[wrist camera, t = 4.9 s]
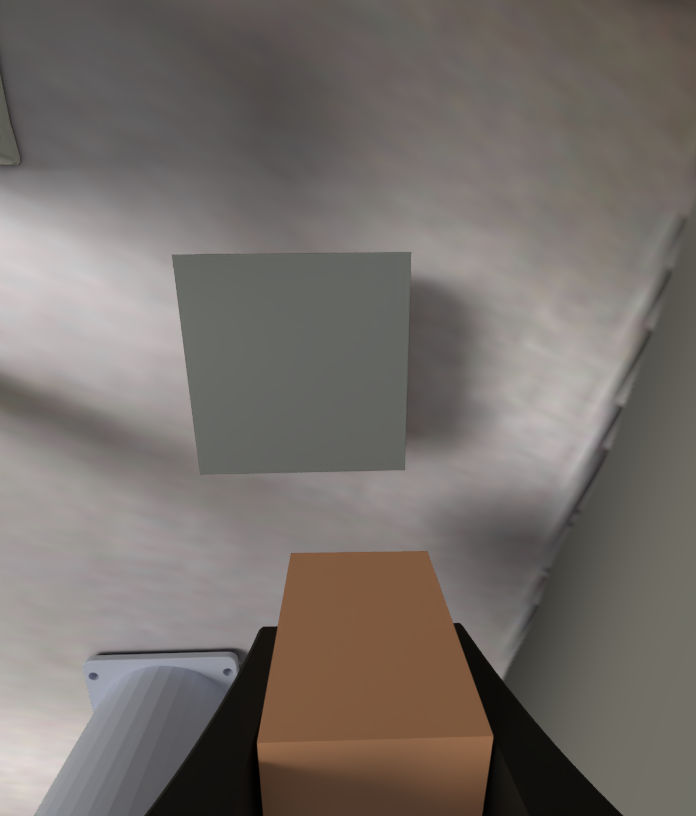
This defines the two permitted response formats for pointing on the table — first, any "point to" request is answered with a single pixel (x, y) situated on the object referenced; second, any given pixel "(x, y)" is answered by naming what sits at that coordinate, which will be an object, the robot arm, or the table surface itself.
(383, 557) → the terracotta block
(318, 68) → the table surface
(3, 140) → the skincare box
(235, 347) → the tower top slab
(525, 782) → the robot arm
